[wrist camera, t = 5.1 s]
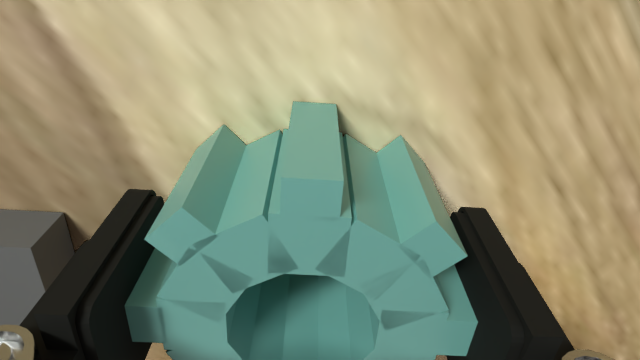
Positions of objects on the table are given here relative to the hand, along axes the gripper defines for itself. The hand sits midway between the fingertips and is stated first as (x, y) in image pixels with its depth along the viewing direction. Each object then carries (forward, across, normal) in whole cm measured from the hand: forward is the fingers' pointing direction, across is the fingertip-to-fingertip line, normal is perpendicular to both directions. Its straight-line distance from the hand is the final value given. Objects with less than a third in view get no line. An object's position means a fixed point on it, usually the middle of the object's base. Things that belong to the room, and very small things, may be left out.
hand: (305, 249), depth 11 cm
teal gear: (+1, 0, 0) cm, 1 cm away
